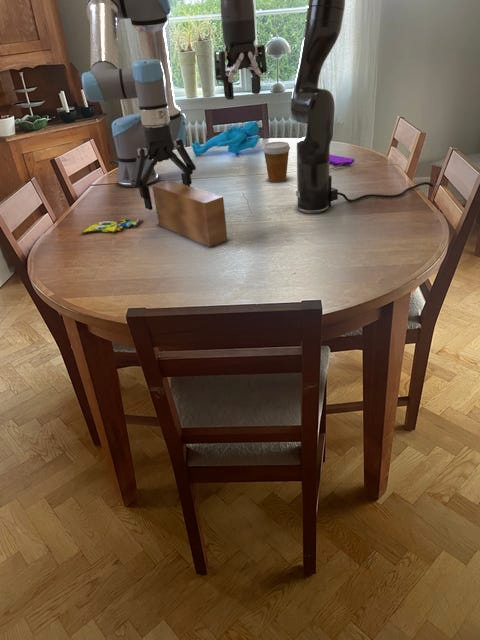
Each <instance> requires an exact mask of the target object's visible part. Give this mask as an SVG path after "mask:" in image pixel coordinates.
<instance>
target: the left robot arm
mask: <svg viewBox="0 0 480 640" xmlns="http://www.w3.org/2000/svg"><path fill="white" fill-rule="evenodd" d="M171 15H172V8H171V5H170V0H86V16H87V19H88V21H89V26H90V27H89V28H90V29H89V32H90V33H89V34H90V35H89V36H90V37H89V39H90V42H89V43H90V44H89V45H90V70H88V71H86V72H83V73H82V74H81V85H82V90H83V93H84V96H85V98H86V100H87V101H88V102H90V103H105V102H111V101H122V100H129V99H132V100H133V99H137V102H138V107H139V108H138V110H139V113H132V114H128V115H125V116H122V117H119V118H116V119H115V120H113V121H112V122H111V132H112V138H113V141H114V146H115V151H116V155H117V160H118V161H117V160H114V159H112V160H110V161H109V164H110V165H111V164H113V163H115V164H116V165H117V169H118V170H117V183H118V186H120V187H123V188H124V187H125V188H136V187H137V188H138V190H139V195H140V198H141V199H142V200H143V204H144V208H145V209H146V210H149V211H152V210H153V203H152V198H151V192H150V187H149V185H152V184H154V183H156V182H157V181H158V180H159V176H158V172H157V169H156V168H155V166H156V165H157V164H158V163H162V162H164V161H169V160H170V161H171V162H173V164H174V165H175V166H177V168H178V169H180V170H181V171H182V172H183V173H181V174H180V175H181V184H184V185H187V186H190V187H191V185H192V183H193V182H192V174H193V173H194V172H193V171H196V169H197V166H196V164H195V163H194V162H193V160H192V159H191V156H190V155H189V153H188V151H187V150H186V148H185V146H186V138H187V137H186V133H187V132H186V114H185V113H181V109H180V107H178V105H176V103H175V102H176V100H175V94H174V87H173V81H172V73H171V67H170V60H169V51H168V46H167V45H168V44H167V38H166V32H165V31H166V30H165V27H166V25H167V24H168V22H169V19H168V16H171ZM126 19H130V23H131V26H132V27H133V28H134V29H135V30H136V31H137V36H138V40H139V47H140V51H141V52H140V53H141V58H142V59H138V60H135V61H133V62H132V64H131V67H125V68H119V67H120V66H119V48H118V47H119V46H118V24H119V22H120V20H126ZM174 150H176V151H177V153H178V155H179V156H180V158H181V159H180V158H179V157H178V155H177V154H176V153H175V152H174Z"/></svg>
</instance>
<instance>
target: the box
mask: <svg viewBox="0 0 480 640" xmlns="http://www.w3.org/2000/svg"><path fill="white" fill-rule="evenodd" d="M151 189H152V193H153V194H152V195H153V200H154V206H155V211H156V216H157V221H158V226H160V227H162V228H164V229H167V230H170V231H171V232H174V233H176V234H179V235H181V236H183V237H186V238H188V239H191V240H192V241H195V242H197V243H200V244H202V245H204V246H206V247H208V248H211V247H214V246H217V245H219V244H221V243H224V242H227V241H228V233H227V232H228V231H227V221H226V212H225V202H224V196H221V195H219V194H215V193H213V192H209V191H206V190H202V189H199V188H196V187H193V186H191V185H190V186H187V185H184V184H183V183H182V182H181V183H180V182H178V181H174V180H172V179H168V180H167V179H166V180H165V181H160V182H158V183H155V184H154V183H153V184H151Z"/></svg>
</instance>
